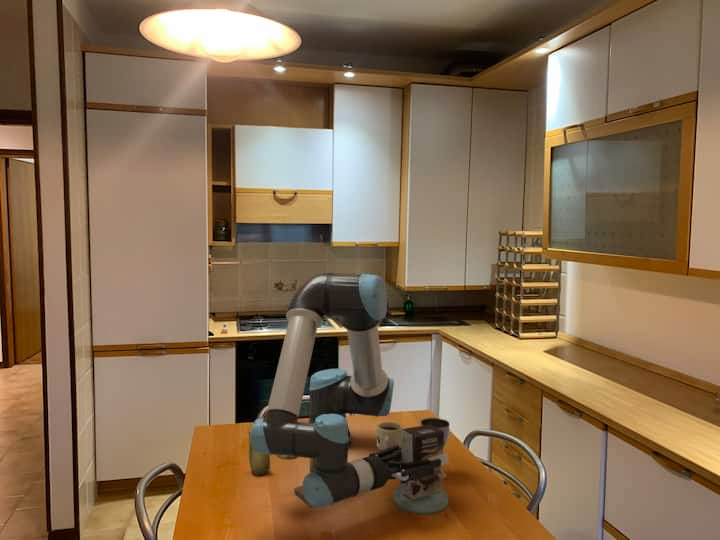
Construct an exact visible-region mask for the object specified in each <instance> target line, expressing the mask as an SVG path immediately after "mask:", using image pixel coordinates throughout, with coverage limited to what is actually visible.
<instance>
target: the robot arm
mask: <svg viewBox="0 0 720 540" xmlns="http://www.w3.org/2000/svg"><path fill="white" fill-rule="evenodd" d="M387 297H388V294H387V288H386V284H385V281H384V280H383V278H382V277H381V276H379V275H377V274H369V273H360V274H359V273H337V272H336V273H332V272H322V273H318V274H316V275H314V276H312V277H310V278H309V279H307V280H306V281H305V282H303V284H301V285H300V286H299V288H298V289H297V290H296V291H295V293H294V294H293V296H292V298H291V300H290V301H289V304H288V306H287V310H286V314H285V317H286V319H287V321H288V322H287V327H286V331H285V334H284V335H285V336H284V339H283V344H282V348H281V350H280V351H281V352H280V356H279V358H278V359H279V360H278V364H277V367H276V373H275V377H274V380H273V381H274V382H273V384H272V388H271V393H270V397H269V401H268V405H267V408H266V414H265V417H261V418H256V419H255V420H254V422H253V424H252V426H251V428H250V431H251V432H250V431H249V432H250V441H249V442H250V445H251V447H252V449H253V450H254V451H256V452H260V453H265V454H269V455H270V456H273V455H275V456H277V455H285V456H295V457H298V458H306V459H310V458H313V459H314V472H311V473H310V472H309V473H308V474H305V476H304V477H303V481H302V486H303V493H304V496H305V499H306V501H307V502H308V504H309V505H311V507H312V508H314V509H320V508H322V507H327V506H332V505H333V504H336V503H339V502H341V501H345V500H346V499H350V498H354V497H357V496H359V495H362V494H366V493H368V492H371V491H374V490H375V491H376V490H377V489H380V488H383V487H384V486H386V484H387V483H388V481H389V480H396V479H398V480H400V479H401V483H402V484H405V483H407V482H409V481H412V480H416V479H420V478H423V477H427V476H431V475H434V468H436V467H439V466H442V465H443V466H445V465H448V464H449V452H443V453H442V454H439V455H436V456H432V457H429V458H427V460H425V461H415V462H404V461H401V452H402V451H401V448H399V446H398V445H396V446H393V447H390V448H388V449H385V450H382V451H381V450H380V451H377V452H373V453H369V454H368V456H365V457H362V458H358V459H355V460H352V461H349V447H350V446H351V444H352V435H351V431H350V428H349V423H348V421H347V414H349V415H350V414H351V415H360V416H361V415H362V416H372V417H387V416H389V415H390V413H391V408H392V407H391V405H392V400H393V392H394V385H395V380H394V379H393V378H391V377H388V374H387V372H385V370H383V368H382V367H383V366H382V365H383V364H382V357H381V348H380V347H381V345H380V339H379V325H380V323H382V322H381V321H382V320H384V319H385V318H386V316H387V311H388V299H387ZM325 317H328V318H339V322H340V325H341V326H342V327H343V328H344V329H346V333H347V341H348V346H349V353H350V357H351V358H350V359H351V363H352V364H351V366H352V371H353V373H352V374H351V375H348V371H347V370H345V369H342V368H329V369H324V370H320V371H317V372H314V373H313V374H311V377H310V380H309V381H310V382H309V387H308V391H309V408H308V410H309V411H308V412H309V413H308V416H309V418H308V422H303V421H302V422H301V421H299V416H300V411H301V406H302V402H303V397H304V392H305V386H306V383H307V378H308V375H309V374H308V373H309V368H310V364H311V359H312V354H313V350H314V344H315V340H316V335H317V330H318V328H320V327H321V326H322V325H323V323H324V322H323V321H324V318H325ZM401 447H402V445H401ZM394 450H395V452H394ZM348 461H349V462H348ZM400 471H401V472H400ZM308 504H307V505H308ZM309 505H308V506H309Z"/></svg>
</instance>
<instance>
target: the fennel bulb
mask: <svg viewBox="0 0 720 540" xmlns="http://www.w3.org/2000/svg"><path fill="white" fill-rule="evenodd" d="M250 432H251V430H250V431H249V432H248V436H249V437H248V440H249V441H248V442H249V447H248V458H249V459H248V460H249V466H250V468H251V471H252V473H253V474H254V475H257V476H262V475H265V474H266V473H268V472H269V471H270V469H271V457H270V456H271V455H269V454H265V453H260V452H256V451H254V450H253V449H252V447H251V445H250Z"/></svg>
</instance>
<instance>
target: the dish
mask: <svg viewBox="0 0 720 540" xmlns="http://www.w3.org/2000/svg"><path fill="white" fill-rule="evenodd" d="M393 502H394V504H395V506H397V507H398V508H399V509H401V510H403V511H405V512H408V513H411V514H414V515H423V516H425V515H434V514H438V513H441V512H443V511H445V510H446V509H447V508H448V506H449V495H448V492H446V491H445V490H444V489H442V492H441V493H437V494H433V495H429V496H425V497H421V498H417V499H411V498H410V497H409V496H408V495H406V494H405V493H404V492H403V491H402V490H400V486H398V487H397V488H395V490H394V491H393Z"/></svg>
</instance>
